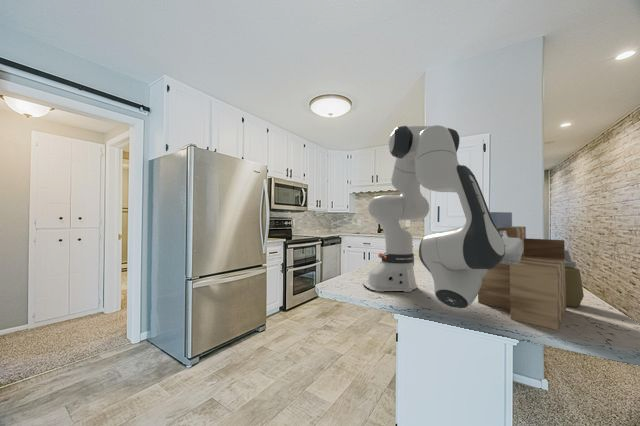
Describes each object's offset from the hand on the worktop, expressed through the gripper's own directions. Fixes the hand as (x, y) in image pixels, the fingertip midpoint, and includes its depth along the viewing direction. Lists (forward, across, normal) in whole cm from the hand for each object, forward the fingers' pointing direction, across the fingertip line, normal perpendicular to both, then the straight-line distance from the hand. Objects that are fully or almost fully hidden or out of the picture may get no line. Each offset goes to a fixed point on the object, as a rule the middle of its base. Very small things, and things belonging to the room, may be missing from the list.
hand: (484, 231), depth 78 cm
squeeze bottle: (+14, -15, +37) cm, 42 cm away
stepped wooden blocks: (-1, -5, +28) cm, 29 cm away
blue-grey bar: (+11, 0, +6) cm, 13 cm away
